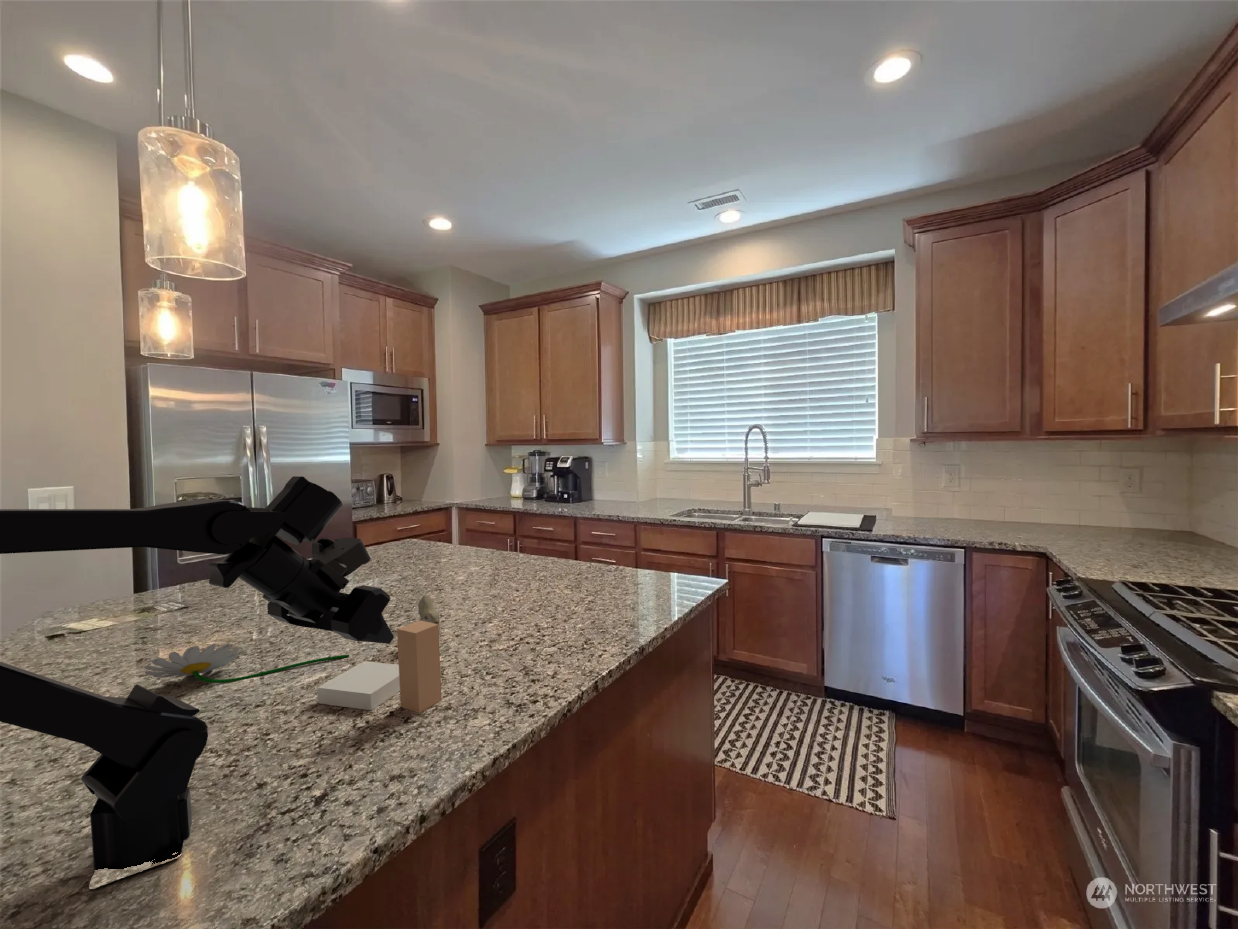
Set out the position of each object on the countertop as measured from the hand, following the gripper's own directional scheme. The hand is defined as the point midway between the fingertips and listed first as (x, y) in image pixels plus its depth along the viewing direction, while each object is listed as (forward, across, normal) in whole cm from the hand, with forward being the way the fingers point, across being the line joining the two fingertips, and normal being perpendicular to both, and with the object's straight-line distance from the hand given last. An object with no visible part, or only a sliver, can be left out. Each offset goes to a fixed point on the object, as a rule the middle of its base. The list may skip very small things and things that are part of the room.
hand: (369, 635), depth 73 cm
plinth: (+14, +11, +4) cm, 19 cm away
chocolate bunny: (+28, +20, -9) cm, 35 cm away
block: (+15, 0, +4) cm, 16 cm away
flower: (+11, +36, +8) cm, 38 cm away
